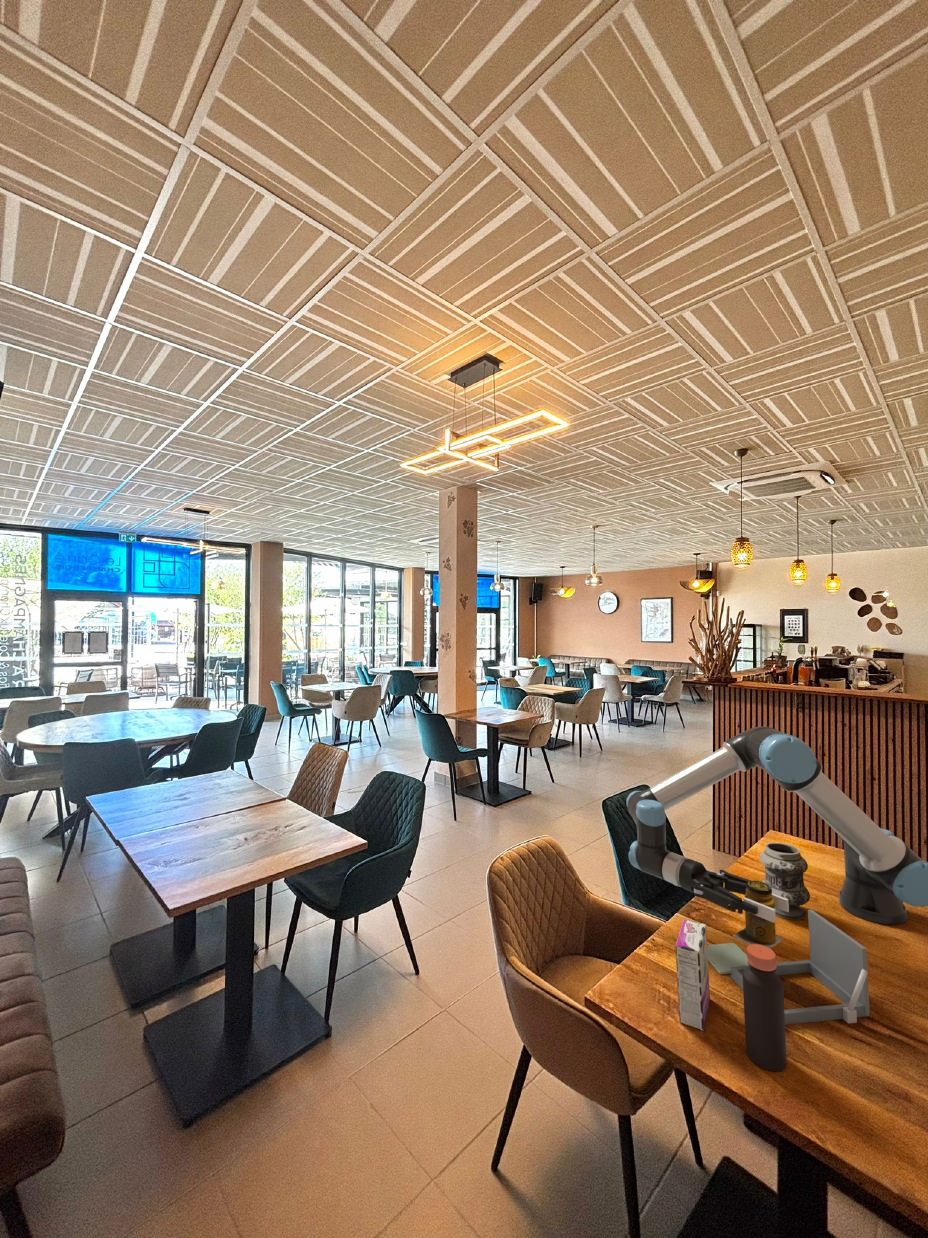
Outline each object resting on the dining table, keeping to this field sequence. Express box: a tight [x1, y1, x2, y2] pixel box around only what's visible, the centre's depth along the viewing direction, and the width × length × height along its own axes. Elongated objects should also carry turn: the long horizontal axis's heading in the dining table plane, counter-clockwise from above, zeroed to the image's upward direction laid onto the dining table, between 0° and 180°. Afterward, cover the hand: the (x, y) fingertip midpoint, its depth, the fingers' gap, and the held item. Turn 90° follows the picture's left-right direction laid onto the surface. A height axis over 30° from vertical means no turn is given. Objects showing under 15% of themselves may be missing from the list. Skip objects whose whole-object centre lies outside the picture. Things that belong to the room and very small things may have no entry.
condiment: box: [732, 880, 785, 950], centre depth 117 cm, size 7×8×12 cm
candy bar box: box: [675, 919, 711, 1032], centre depth 109 cm, size 11×5×16 cm, turn 148°
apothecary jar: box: [759, 841, 811, 921], centre depth 146 cm, size 12×12×18 cm
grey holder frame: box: [730, 909, 871, 1026], centre depth 112 cm, size 21×16×14 cm
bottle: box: [742, 944, 788, 1072], centre depth 97 cm, size 7×7×20 cm
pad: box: [707, 942, 749, 975], centre depth 126 cm, size 10×10×1 cm
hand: (781, 911), depth 114 cm, fingers closed on condiment, 6 cm apart
